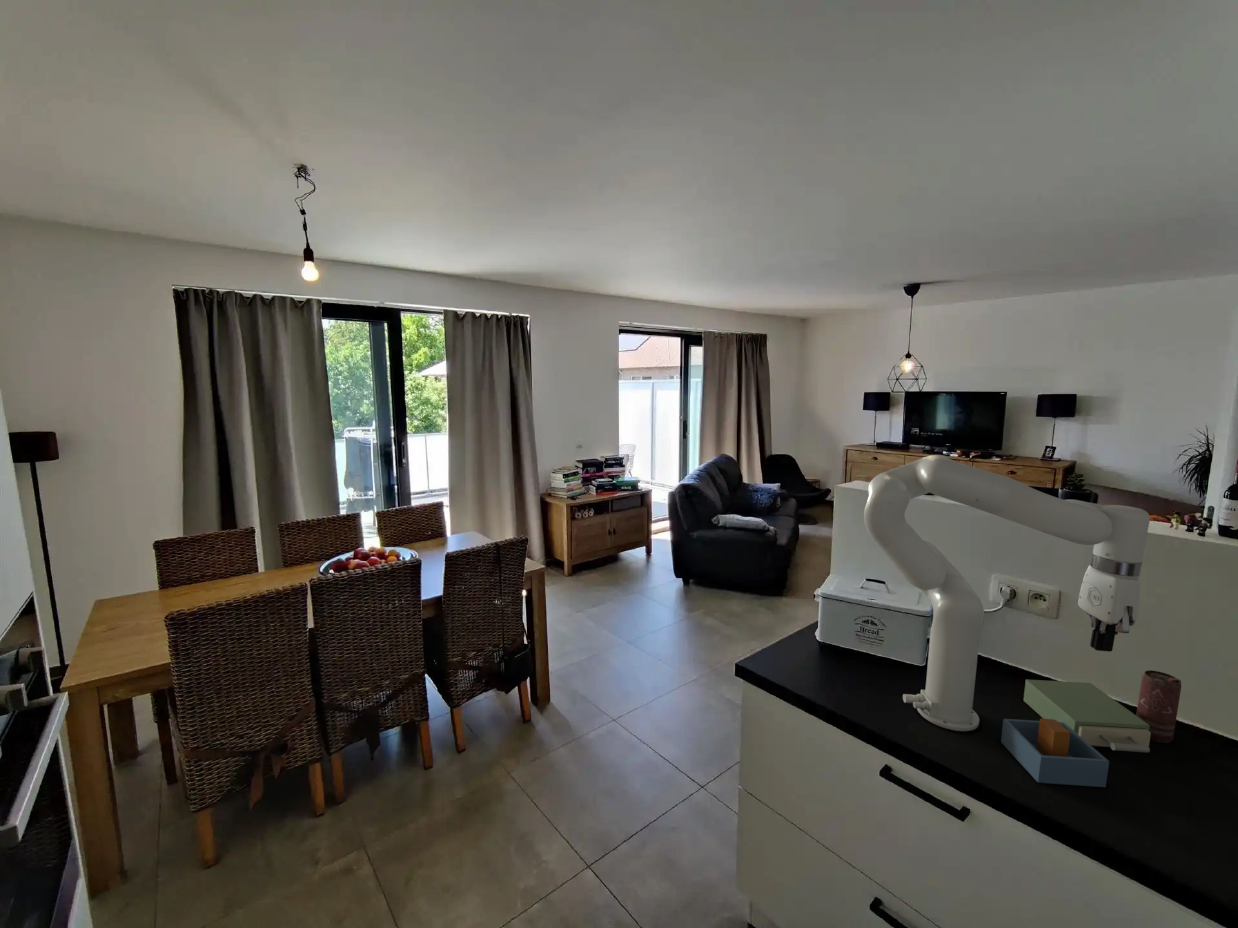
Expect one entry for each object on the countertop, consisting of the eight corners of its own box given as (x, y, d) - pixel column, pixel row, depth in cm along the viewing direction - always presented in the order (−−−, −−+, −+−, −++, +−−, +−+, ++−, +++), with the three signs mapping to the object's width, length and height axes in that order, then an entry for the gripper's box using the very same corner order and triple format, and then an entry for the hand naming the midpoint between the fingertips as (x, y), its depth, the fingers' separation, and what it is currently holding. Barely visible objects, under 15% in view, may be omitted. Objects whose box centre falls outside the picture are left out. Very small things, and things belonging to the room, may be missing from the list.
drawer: (1166, 763, 109) (1169, 745, 109) (1095, 758, 111) (1097, 741, 110) (1092, 705, 129) (1094, 691, 128) (1032, 702, 130) (1034, 688, 130)
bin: (1037, 782, 105) (1041, 756, 104) (1000, 741, 117) (1003, 718, 116) (1105, 787, 104) (1109, 761, 103) (1061, 745, 116) (1064, 722, 115)
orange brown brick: (1049, 767, 108) (1054, 731, 107) (1035, 753, 113) (1039, 718, 112) (1066, 769, 108) (1070, 732, 107) (1051, 754, 112) (1055, 719, 111)
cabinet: (1146, 749, 115) (1149, 725, 114) (1072, 744, 116) (1075, 720, 115) (1087, 704, 131) (1090, 682, 130) (1023, 700, 133) (1025, 679, 132)
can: (1181, 745, 116) (1191, 685, 114) (1147, 742, 117) (1156, 682, 115) (1160, 728, 122) (1169, 670, 120) (1127, 725, 123) (1135, 667, 121)
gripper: (1070, 553, 118) (1057, 631, 121) (1123, 577, 104) (1107, 665, 107) (1108, 555, 117) (1094, 634, 120) (1167, 580, 103) (1150, 669, 106)
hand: (1100, 648), depth 113 cm, fingers closed
